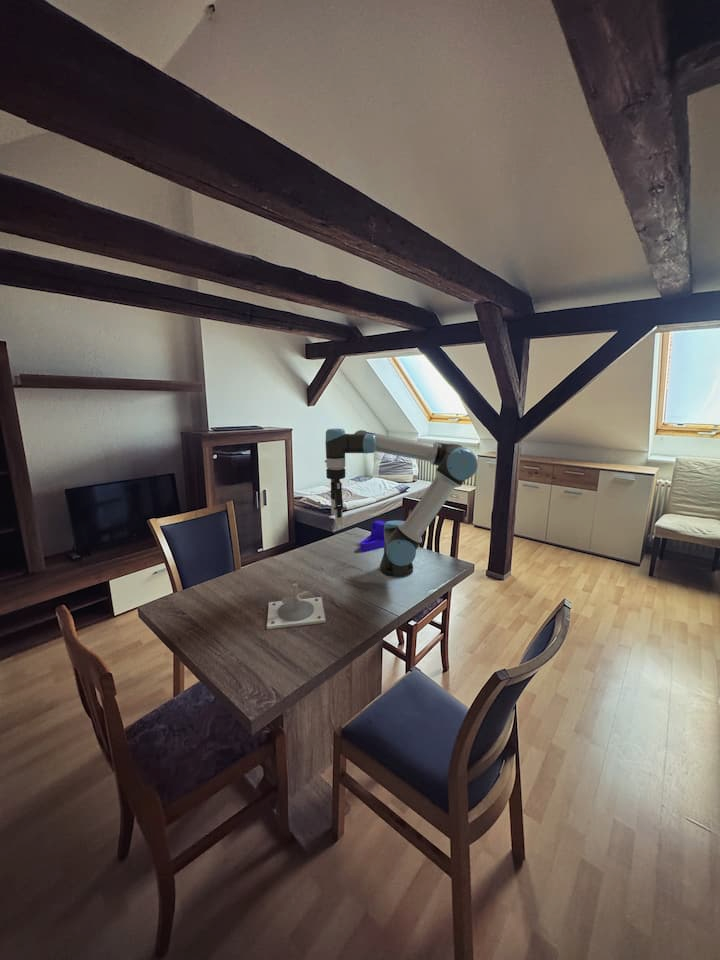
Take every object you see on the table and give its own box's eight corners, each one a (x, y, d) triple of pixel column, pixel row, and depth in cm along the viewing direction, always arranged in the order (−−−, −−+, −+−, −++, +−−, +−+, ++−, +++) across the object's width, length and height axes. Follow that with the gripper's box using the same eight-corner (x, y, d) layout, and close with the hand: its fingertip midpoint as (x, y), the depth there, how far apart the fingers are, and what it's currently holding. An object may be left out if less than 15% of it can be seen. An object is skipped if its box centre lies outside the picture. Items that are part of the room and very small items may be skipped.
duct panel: (321, 599, 149) (321, 595, 148) (325, 622, 133) (325, 618, 133) (269, 604, 145) (268, 600, 145) (267, 629, 130) (266, 625, 129)
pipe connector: (314, 611, 137) (313, 586, 135) (288, 620, 132) (287, 594, 130) (303, 599, 145) (302, 575, 143) (278, 607, 140) (276, 582, 138)
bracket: (376, 539, 211) (376, 519, 208) (391, 544, 203) (392, 523, 201) (353, 548, 198) (353, 527, 196) (369, 554, 191) (369, 532, 188)
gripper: (323, 463, 161) (324, 511, 166) (329, 474, 137) (331, 530, 142) (340, 462, 162) (341, 510, 167) (350, 473, 139) (350, 528, 143)
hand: (336, 519), depth 154 cm, fingers open, 13 cm apart
